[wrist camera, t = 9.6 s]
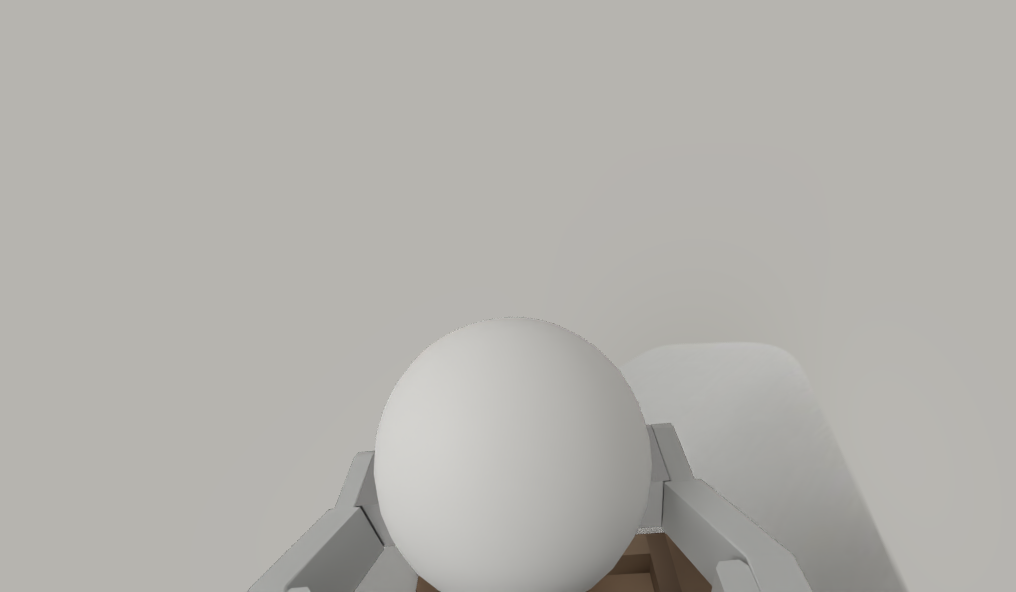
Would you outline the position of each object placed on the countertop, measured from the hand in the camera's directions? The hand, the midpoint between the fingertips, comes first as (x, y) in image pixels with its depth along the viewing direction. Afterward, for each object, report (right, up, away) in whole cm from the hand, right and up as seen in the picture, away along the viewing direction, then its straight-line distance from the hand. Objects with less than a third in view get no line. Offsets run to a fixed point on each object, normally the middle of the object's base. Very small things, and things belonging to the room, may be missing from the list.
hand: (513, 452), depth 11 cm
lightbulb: (+1, -6, +3) cm, 7 cm away
